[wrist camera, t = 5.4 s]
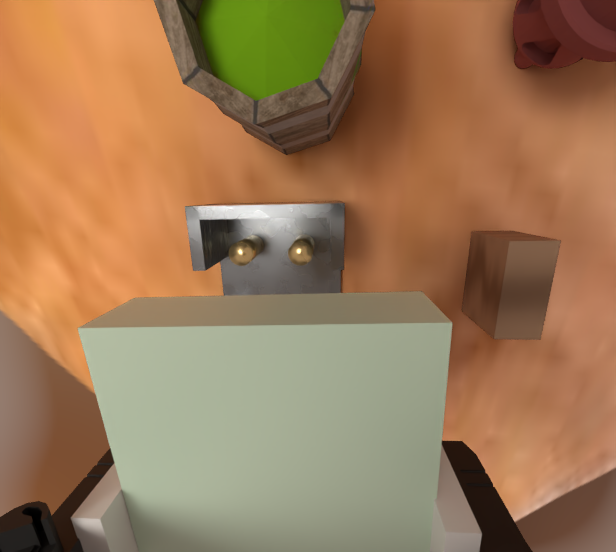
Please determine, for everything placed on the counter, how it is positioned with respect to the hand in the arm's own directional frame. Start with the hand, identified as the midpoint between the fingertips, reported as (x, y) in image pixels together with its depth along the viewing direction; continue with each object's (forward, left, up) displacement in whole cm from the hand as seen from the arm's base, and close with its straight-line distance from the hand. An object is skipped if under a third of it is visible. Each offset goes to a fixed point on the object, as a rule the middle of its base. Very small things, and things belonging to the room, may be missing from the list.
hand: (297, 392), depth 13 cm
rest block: (-1, +17, -17) cm, 24 cm away
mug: (-20, -1, -18) cm, 27 cm away
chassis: (0, -3, -17) cm, 18 cm away
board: (0, 0, +4) cm, 4 cm away
